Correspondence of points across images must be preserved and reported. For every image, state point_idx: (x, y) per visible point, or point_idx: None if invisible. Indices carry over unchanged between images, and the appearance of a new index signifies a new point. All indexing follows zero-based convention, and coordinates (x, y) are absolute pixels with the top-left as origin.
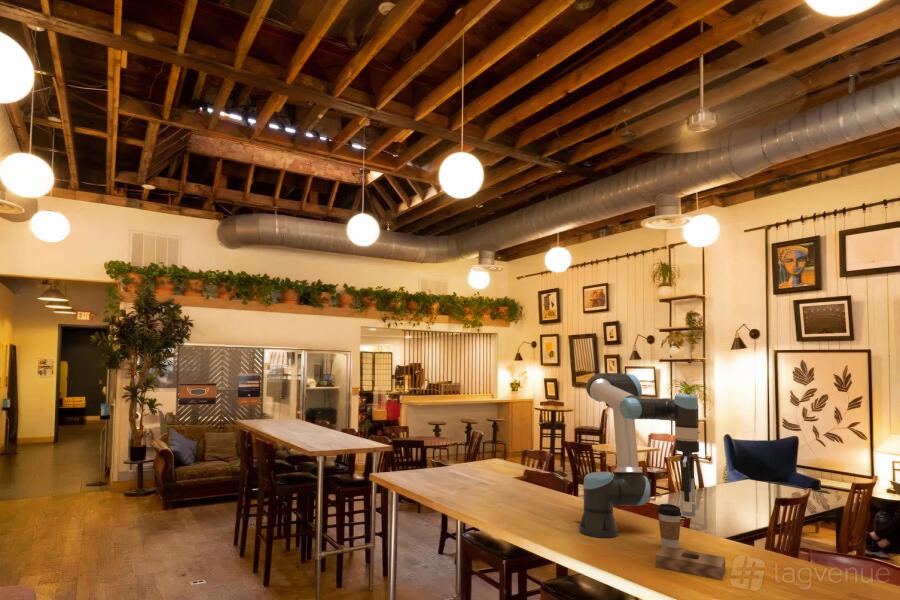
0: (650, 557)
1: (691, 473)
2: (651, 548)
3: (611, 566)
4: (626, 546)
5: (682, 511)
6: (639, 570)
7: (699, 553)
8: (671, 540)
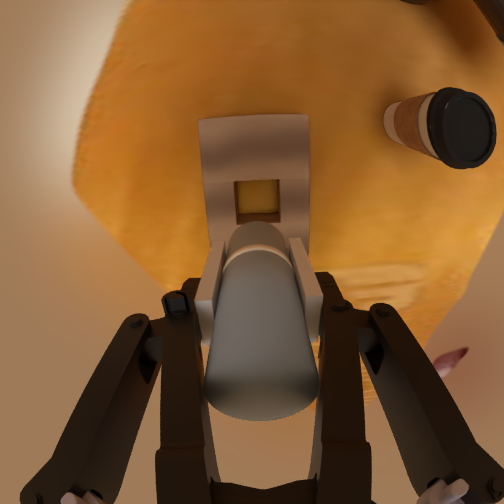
0: (281, 87)
1: (313, 439)
2: (365, 79)
3: (138, 44)
4: (335, 21)
5: (242, 229)
6: (152, 99)
7: (299, 218)
8: (394, 129)
